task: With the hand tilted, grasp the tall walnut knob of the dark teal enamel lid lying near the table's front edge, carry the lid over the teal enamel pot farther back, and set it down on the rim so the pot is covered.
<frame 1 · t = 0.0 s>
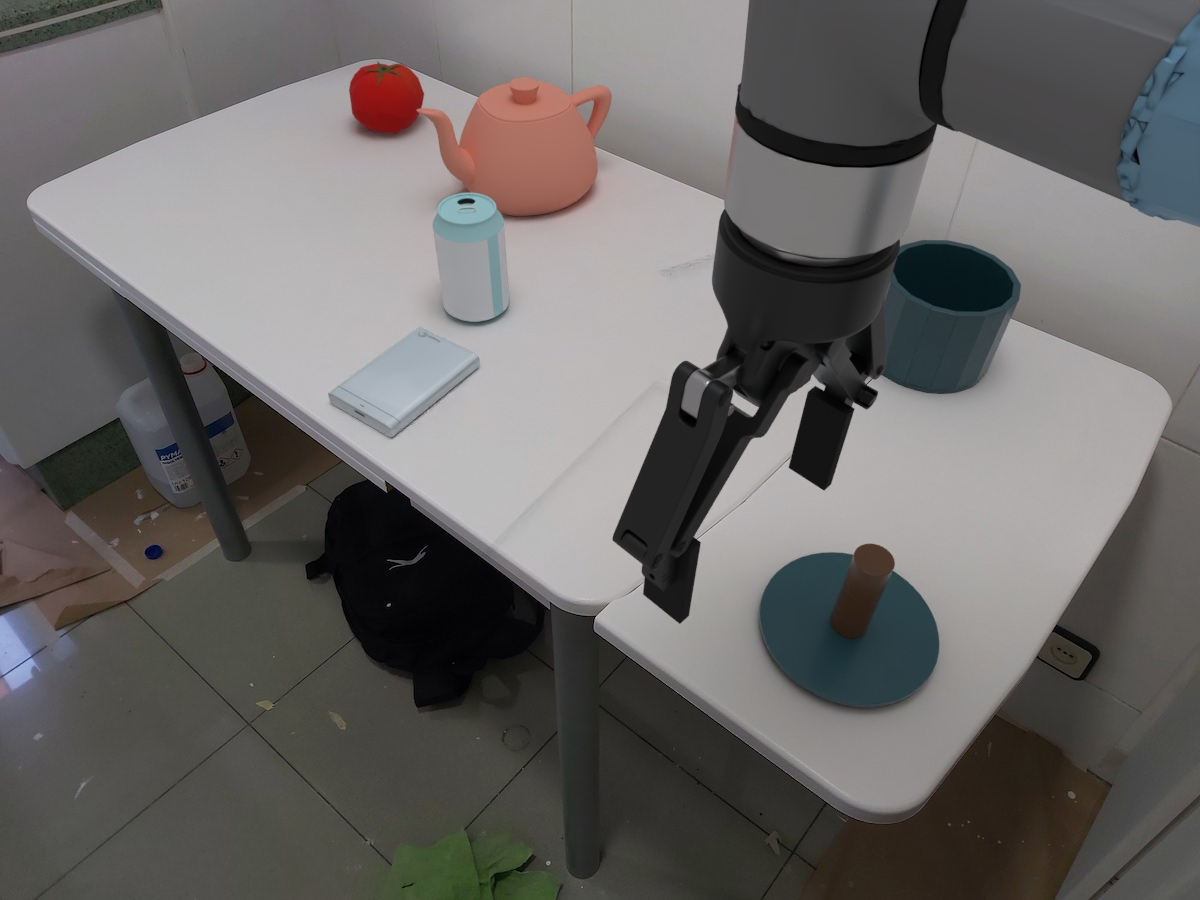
hand: (742, 536, 52), 17 cm above the table, tool pointing down, fingers open, 13 cm apart
can: (477, 307, 95), on the table
pot: (924, 352, 91), on the table
hard drive: (407, 386, 86), on the table
tomato: (391, 127, 123), on the table
teapot: (522, 189, 112), on the table
lid: (847, 626, 67), point 1 cm above the table
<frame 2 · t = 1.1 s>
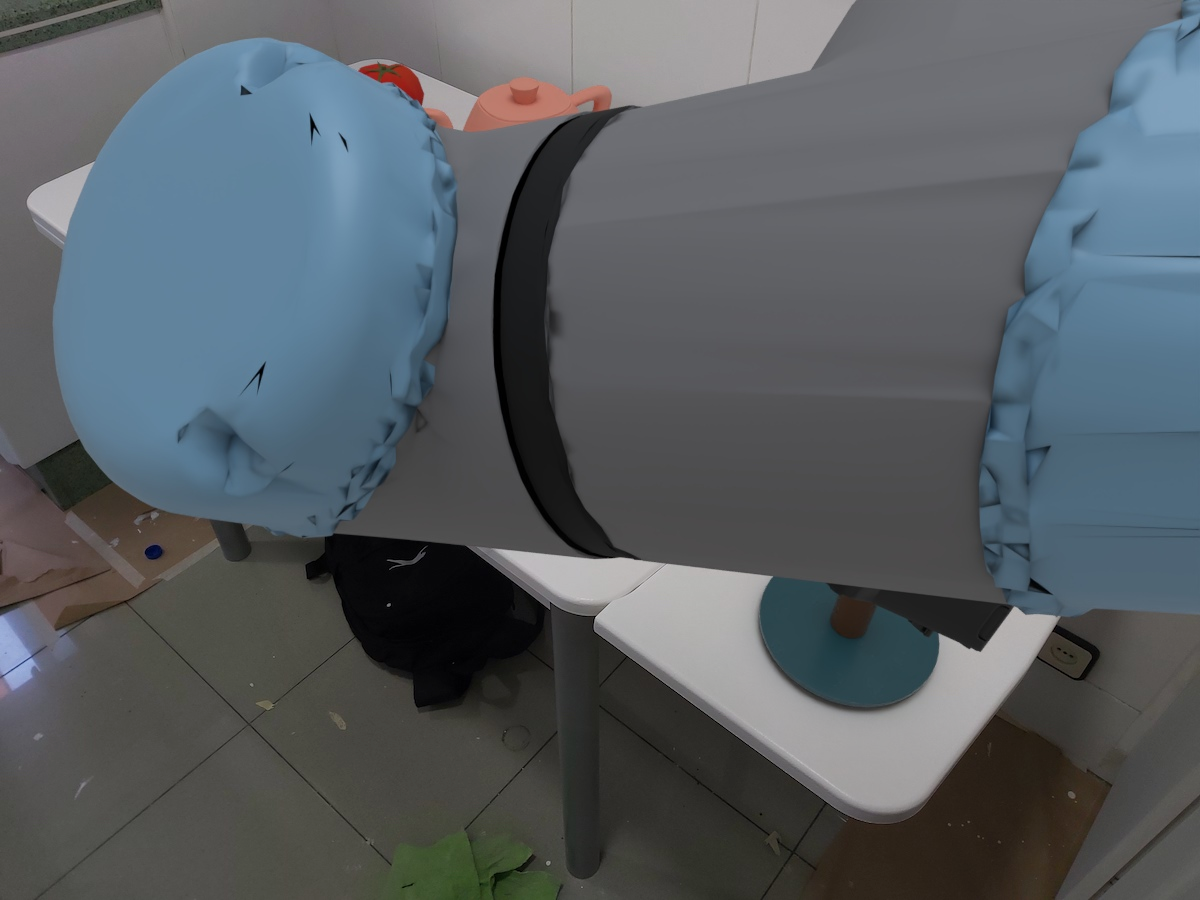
hand: (829, 495, 44), 25 cm above the table, tool tilted 45°, fingers open, 13 cm apart
nothing on the table moved.
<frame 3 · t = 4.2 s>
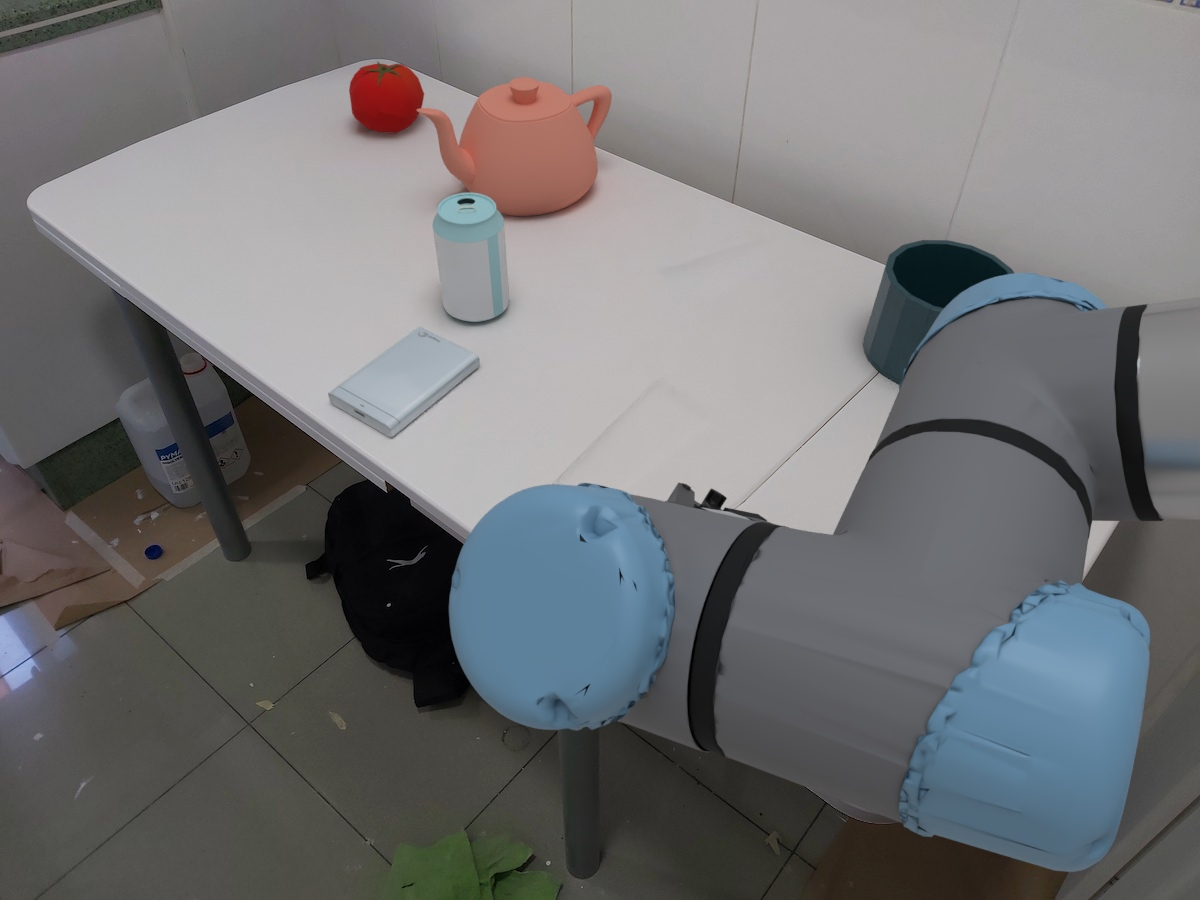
hand: (835, 591, 58), 10 cm above the table, tool tilted 45°, fingers open, 13 cm apart
nothing on the table moved.
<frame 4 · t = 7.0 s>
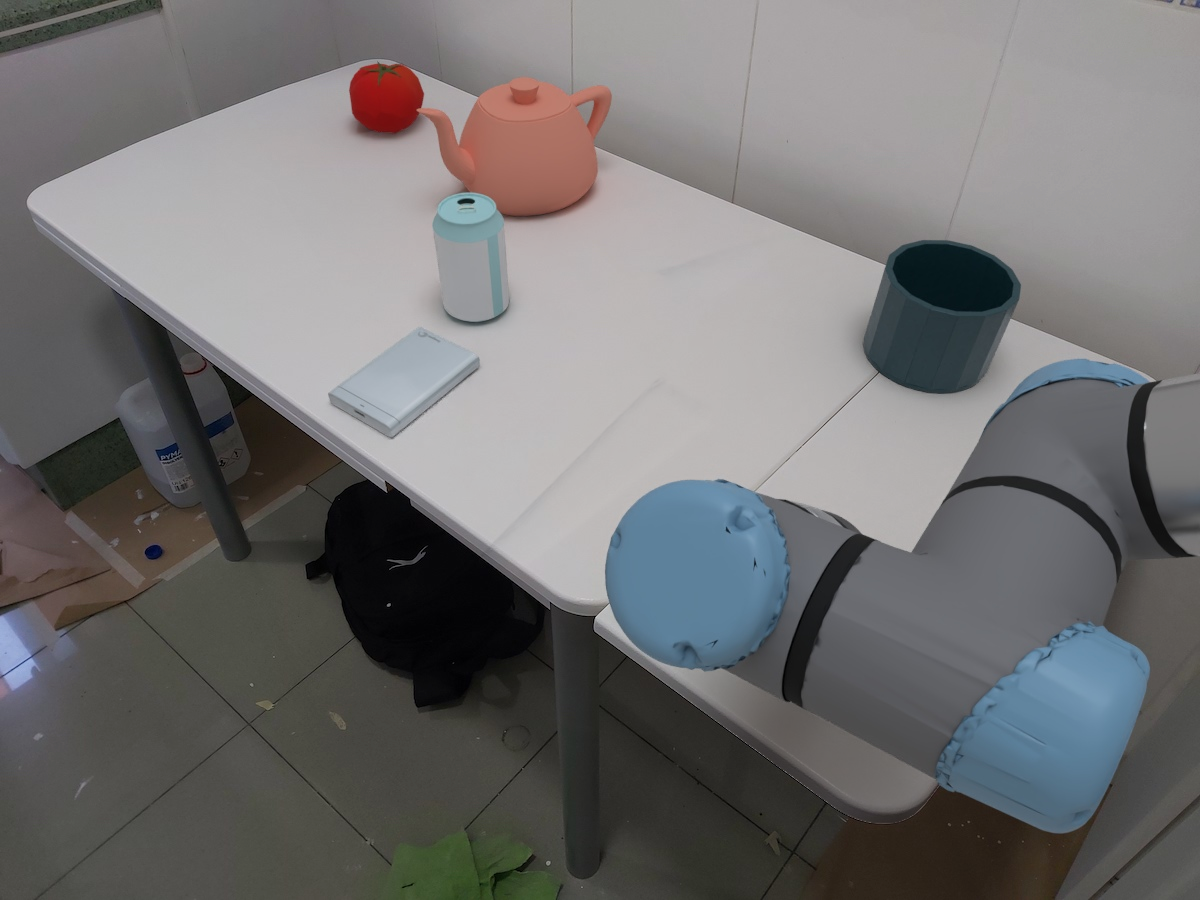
hand: (882, 577, 67), 3 cm above the table, tool tilted 45°, fingers closed on lid, 3 cm apart
lid: (847, 626, 67), point 1 cm above the table, touching gripper
everything else where it was.
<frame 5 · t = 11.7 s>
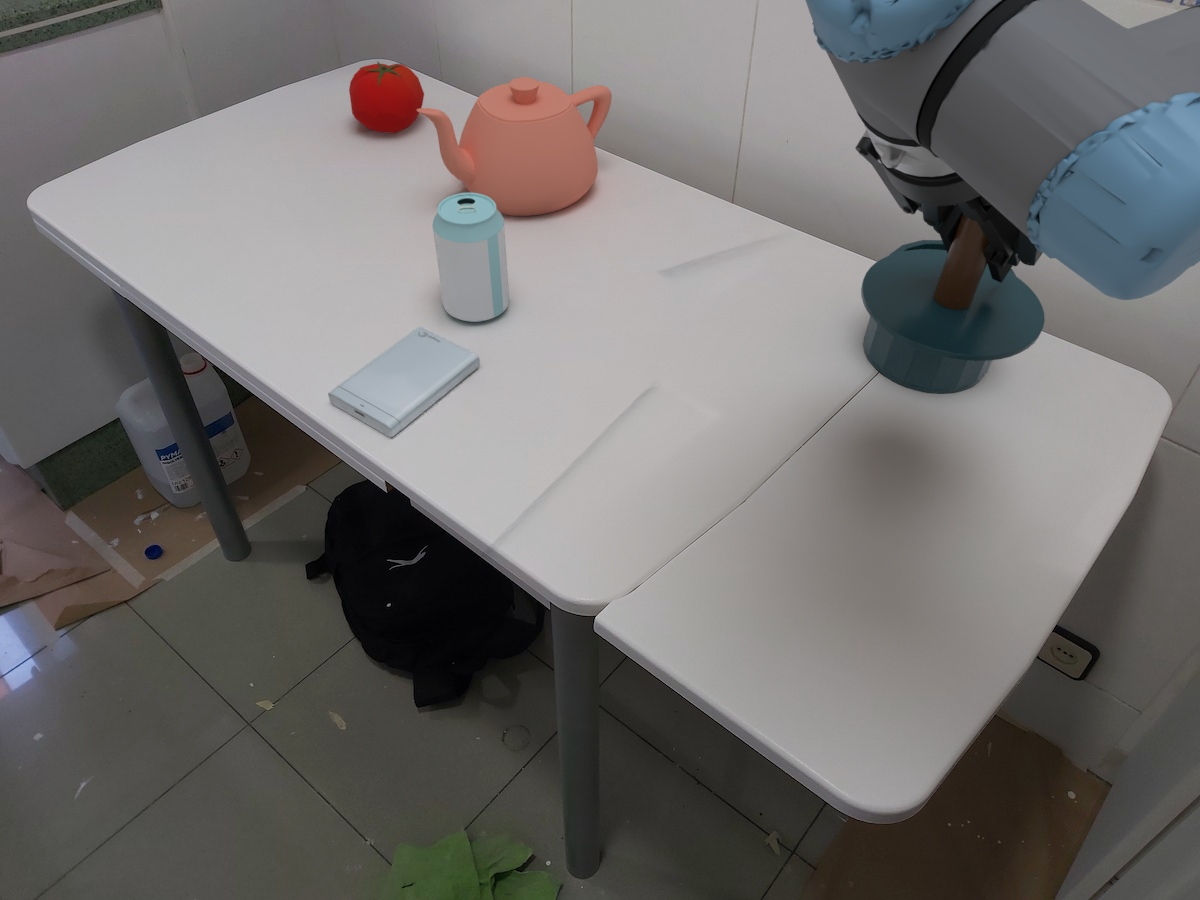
hand: (985, 255, 67), 20 cm above the table, tool tilted 45°, fingers closed on lid, 3 cm apart
lid: (950, 304, 67), point 18 cm above the table, touching gripper
everything else where it was.
when the fingers open (12 cm above the table, at t = 16.3 s): lid stays where it is, resting on pot.
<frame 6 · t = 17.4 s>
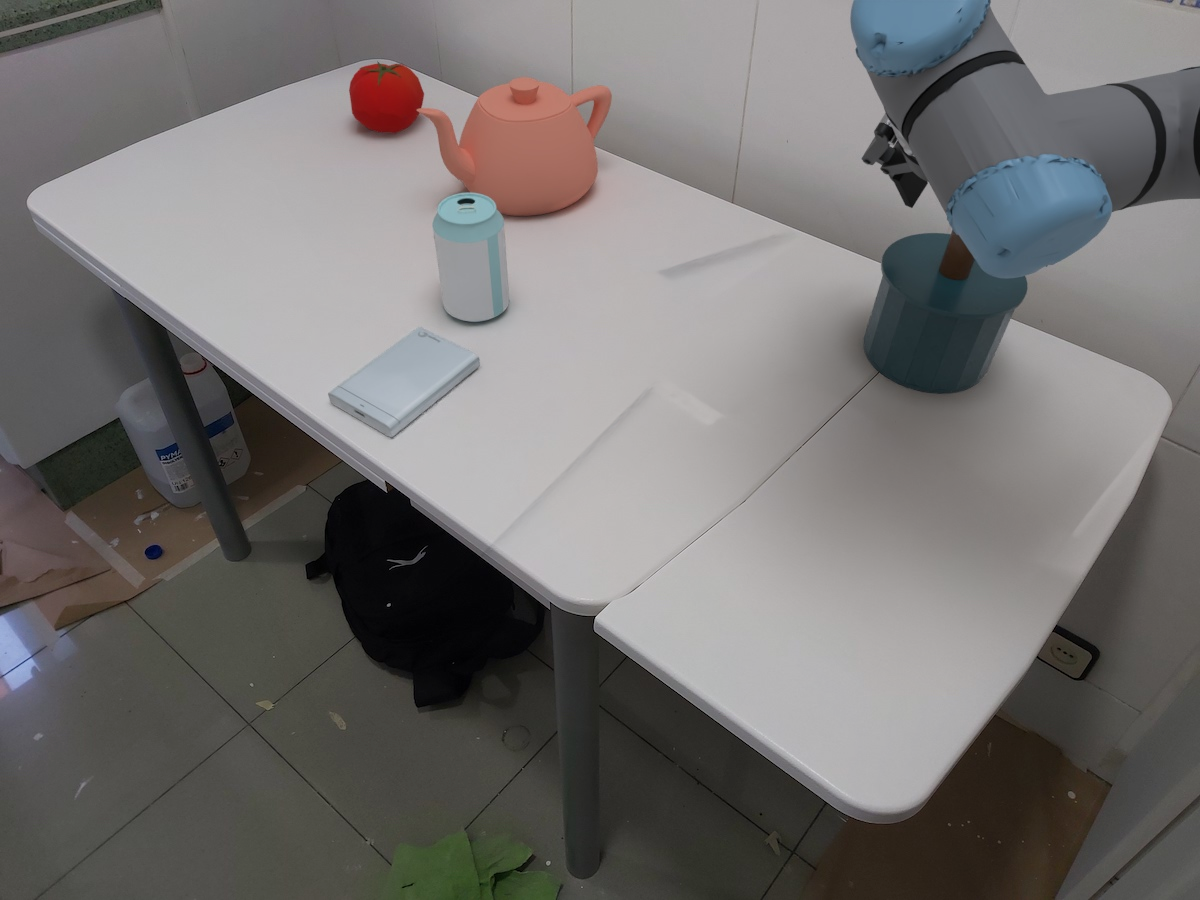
hand: (981, 222, 82), 14 cm above the table, tool tilted 45°, fingers open, 13 cm apart
lid: (952, 276, 84), point 9 cm above the table, touching pot
everything else where it was.
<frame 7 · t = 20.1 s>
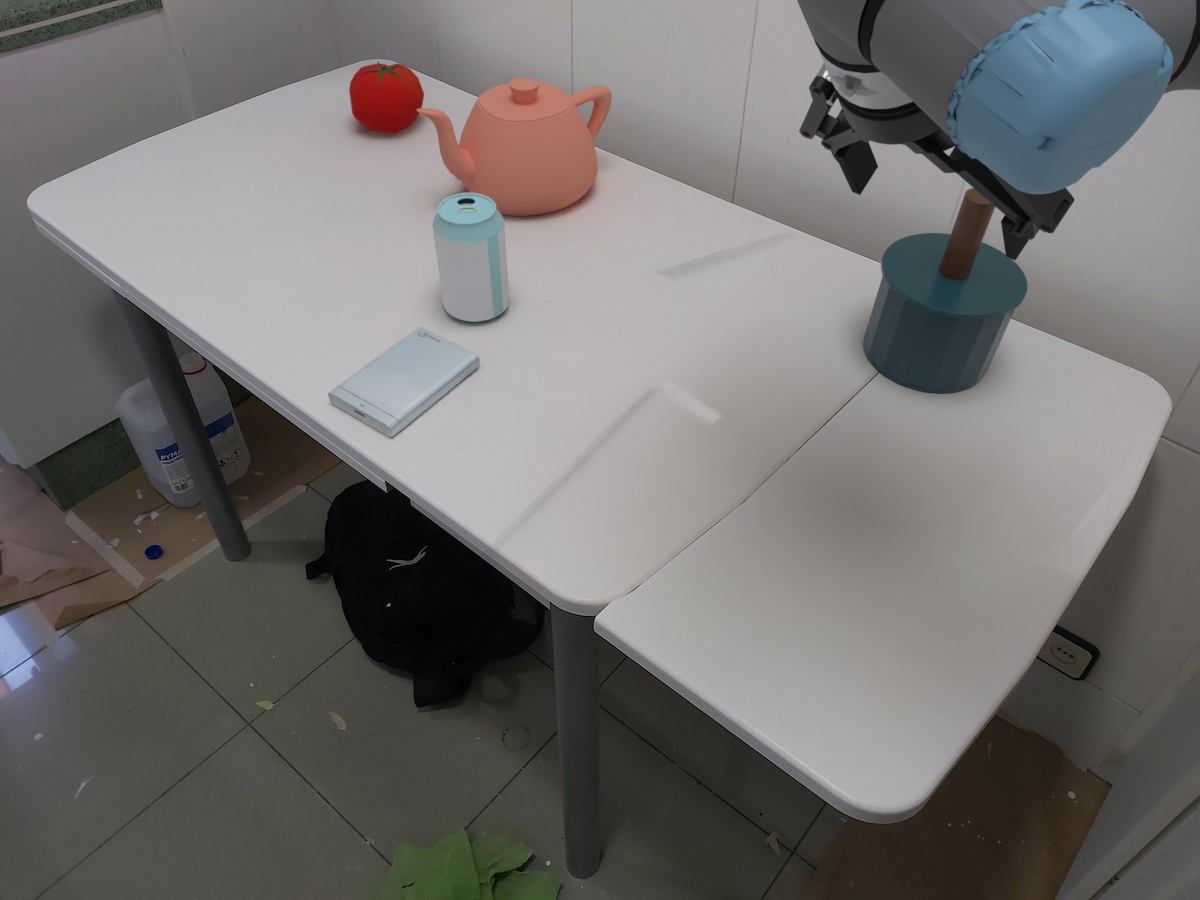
hand: (939, 209, 70), 21 cm above the table, tool tilted 40°, fingers open, 13 cm apart
nothing on the table moved.
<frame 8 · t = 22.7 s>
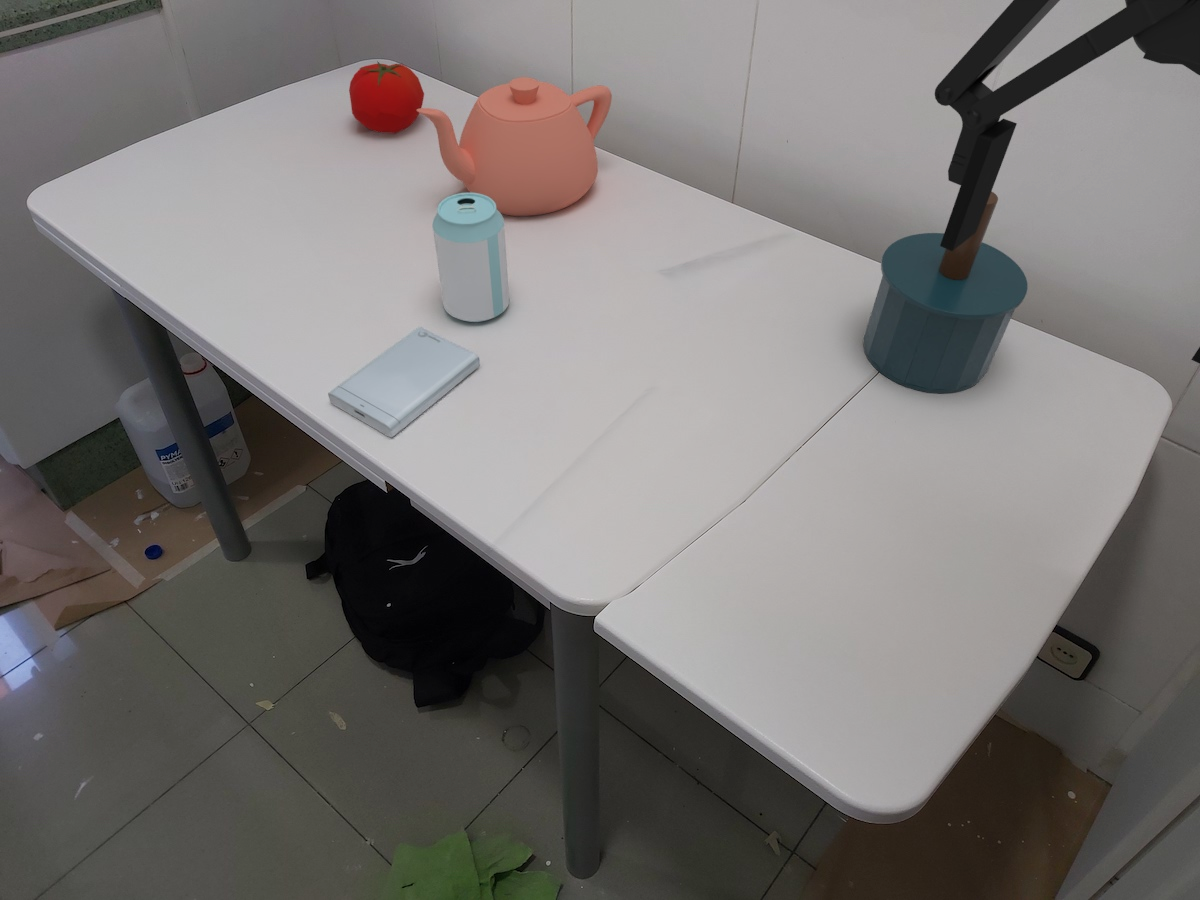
hand: (1074, 291, 46), 31 cm above the table, tool pointing down, fingers open, 13 cm apart
nothing on the table moved.
at the end: lid 0.0 cm off-centre on the pot, point 9.5 cm above the pot's base; lid tilted 0°; the gripper is holding nothing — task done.
